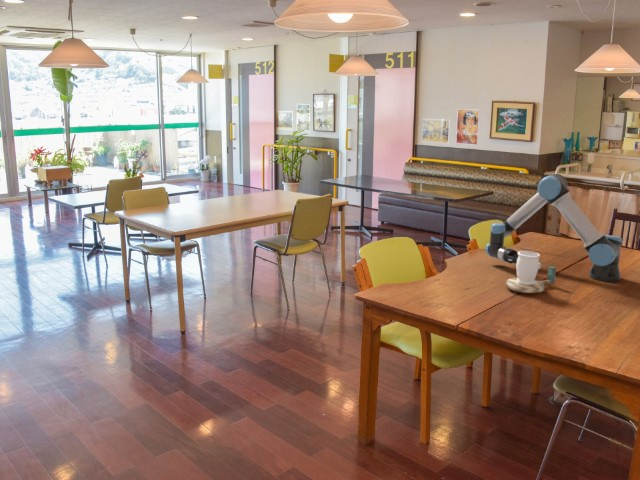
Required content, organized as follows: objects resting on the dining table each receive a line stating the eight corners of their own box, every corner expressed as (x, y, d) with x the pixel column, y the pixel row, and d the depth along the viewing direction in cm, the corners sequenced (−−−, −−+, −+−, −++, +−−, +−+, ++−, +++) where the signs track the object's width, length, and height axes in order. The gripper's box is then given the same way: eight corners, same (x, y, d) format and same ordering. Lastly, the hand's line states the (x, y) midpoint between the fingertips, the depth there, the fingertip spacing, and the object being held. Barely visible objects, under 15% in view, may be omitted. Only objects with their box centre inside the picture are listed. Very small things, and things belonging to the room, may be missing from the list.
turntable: (524, 294, 289) (525, 277, 287) (498, 284, 305) (499, 267, 303) (566, 288, 300) (568, 271, 298) (539, 277, 316) (541, 262, 314)
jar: (538, 286, 294) (541, 257, 290) (515, 285, 296) (519, 255, 292) (534, 280, 304) (538, 251, 300) (513, 278, 306) (516, 249, 302)
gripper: (516, 260, 337) (548, 272, 316) (498, 262, 331) (529, 274, 311) (517, 247, 335) (550, 258, 314) (499, 249, 330) (530, 260, 309)
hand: (539, 266), depth 313 cm, fingers closed
